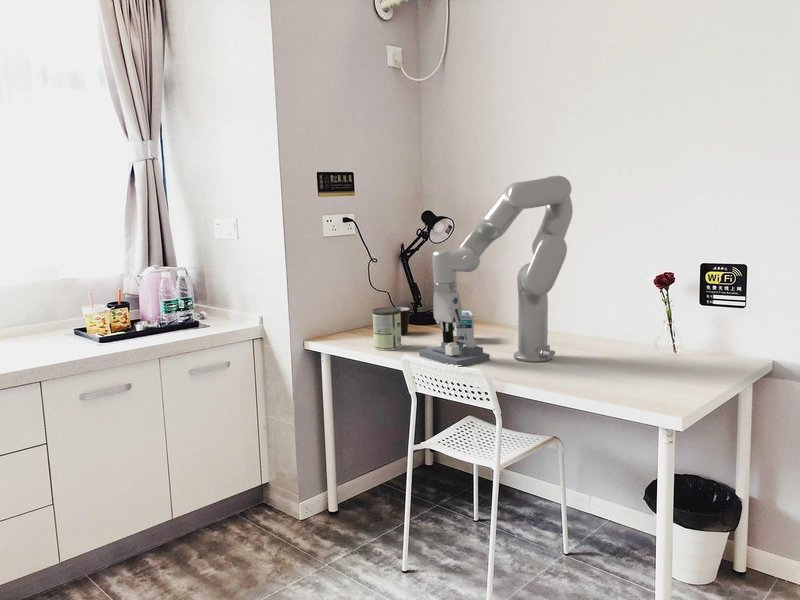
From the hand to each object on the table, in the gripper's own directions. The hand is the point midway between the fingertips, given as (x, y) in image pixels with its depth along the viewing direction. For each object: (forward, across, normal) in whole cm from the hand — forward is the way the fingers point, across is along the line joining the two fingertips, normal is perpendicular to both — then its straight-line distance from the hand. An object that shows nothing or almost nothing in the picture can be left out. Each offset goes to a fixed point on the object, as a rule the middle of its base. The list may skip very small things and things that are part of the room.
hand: (448, 342), depth 224 cm
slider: (+3, -3, +1) cm, 5 cm away
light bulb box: (+6, +19, -22) cm, 30 cm away
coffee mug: (+6, +45, -10) cm, 46 cm away
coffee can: (+5, +29, +6) cm, 30 cm away
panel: (+6, +1, -2) cm, 7 cm away
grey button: (+3, -4, -6) cm, 8 cm away
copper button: (+3, +6, -6) cm, 9 cm away
